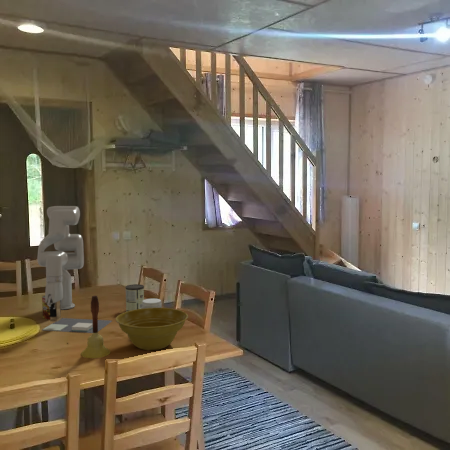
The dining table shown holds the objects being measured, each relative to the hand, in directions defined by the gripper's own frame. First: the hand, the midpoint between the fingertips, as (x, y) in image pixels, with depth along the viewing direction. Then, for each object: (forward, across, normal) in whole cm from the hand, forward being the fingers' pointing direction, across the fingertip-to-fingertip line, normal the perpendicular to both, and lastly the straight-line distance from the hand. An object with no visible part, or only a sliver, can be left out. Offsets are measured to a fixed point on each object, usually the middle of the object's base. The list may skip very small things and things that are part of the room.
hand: (55, 315), depth 253 cm
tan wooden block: (+3, 0, 0) cm, 3 cm away
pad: (+6, 0, 0) cm, 6 cm away
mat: (+7, -6, +9) cm, 13 cm away
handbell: (+8, +29, +33) cm, 44 cm away
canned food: (+7, -18, -12) cm, 23 cm away
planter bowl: (+8, +15, +54) cm, 56 cm away
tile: (+5, -4, +14) cm, 16 cm away
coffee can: (+7, -41, +27) cm, 50 cm away
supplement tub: (+8, -8, +47) cm, 48 cm away
